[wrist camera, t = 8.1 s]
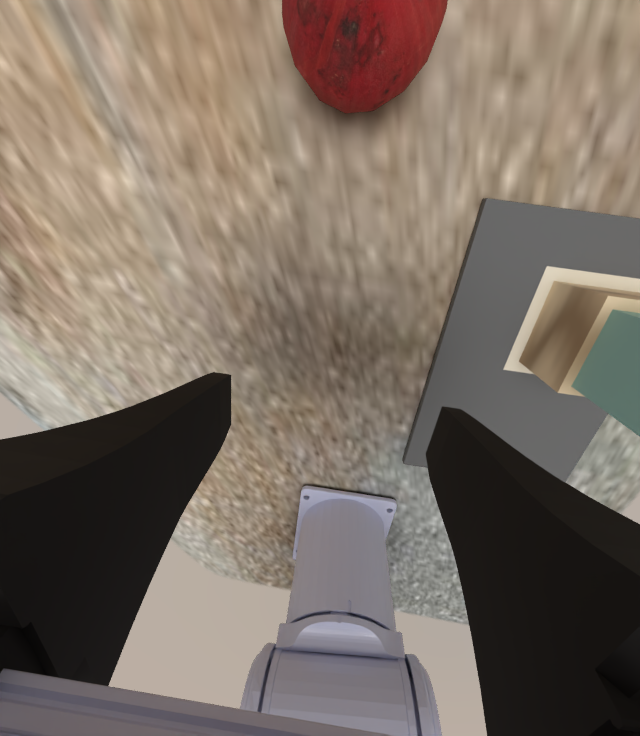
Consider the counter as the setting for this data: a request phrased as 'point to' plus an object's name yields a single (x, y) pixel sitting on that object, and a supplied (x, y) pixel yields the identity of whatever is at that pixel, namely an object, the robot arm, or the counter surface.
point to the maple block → (571, 330)
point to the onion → (360, 47)
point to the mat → (522, 327)
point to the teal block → (615, 369)
